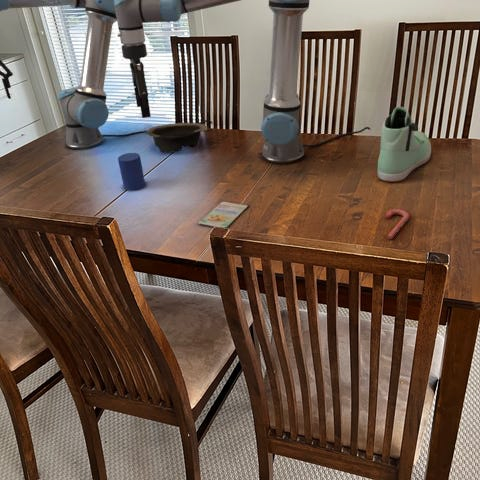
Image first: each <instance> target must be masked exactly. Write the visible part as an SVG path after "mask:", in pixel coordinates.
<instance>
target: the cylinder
mask: <svg viewBox="0 0 480 480" xmlns="http://www.w3.org/2000/svg"><path fill="white" fill-rule="evenodd" d="M117 161H118V162H117V163H118V166H119V171H120V175H121V180H122V186H123V189H124V190H125V191H138V190H141V189H143V188H144V187H146V181H145V174H144V169H143V164H142V159H141V154H139V152H138V153H137V152H128V153H127V152H126V153H123V154H120V155H119V156H118V157H117Z"/></svg>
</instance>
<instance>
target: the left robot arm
mask: <svg viewBox="0 0 480 480" xmlns="http://www.w3.org/2000/svg"><path fill="white" fill-rule="evenodd" d="M63 6H64V7H65V6H69V7H71V8H72V9H84V13H85V14H86V16H87V18H88V21H87V29H86V35H85V45H84V51H83V59H82V68H81V76H80V83H79V85H78V86H76V87H69V88H66V89H61V90H60V91H58V93H57V95H58V102H59V105H60V107H61V113H62V116H63V119H64V123H65V126H66V133H65V135H64V138H65V144H66V148H68V149H70V150H85V149H92V148H94V147H97V146H99V145H102V143H104V138H107V137H108V138H124V137H130V136H133V135H138V134H145V133H146V132H147V130H148V129H147V130H146V129H145V130H146V132H144V131H145V130H139V131H134V132H129V133H125V134H102V132H101V130H100V129H99V128H101V127H102V126H103V125H105V123H106V122H107V121H108V119H109V113H110V112H109V108H108V106H107V104H106V103H107V94H106V91H105V90H104V88H105V87H104V86H105V82H106V81H105V80H106V73H107V68H108V67H107V66H108V59H109V53H110V44H111V38H112V31H113V25H114V24H115V23H117V17H116V12H115V7H114V0H0V12H2V11H8V10H9V9H25V8H44V7H63ZM0 66H1V68H2V69H3V70H4V71H5V72H6V73H5V72H3V71H2V70H0V77H1V82H2V85H3V88H4V91H5V94H6V97H7V99H9V100H10V99H11V100H12V97H11V94H10V90H9V89H11V88H12V86H11V83H10V80H9V79H10V77H12V76H14V74H13V72H12V70H10V68H8V66H7V65H6V64H5V63H4V62H3V61H2V60H1V59H0ZM198 123H199V124H205V123H209V124H213V121H211V120H209V119H205V120H201V121H199V122H198ZM146 134H147V133H146Z"/></svg>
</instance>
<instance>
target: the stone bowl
mask: <svg viewBox="0 0 480 480" xmlns="http://www.w3.org/2000/svg"><path fill="white" fill-rule="evenodd" d="M207 130H208V127H207V124H204V123H202V124H199V122H178V123H176V122H175V123H168V124H161V125H156V126H152V127H150V128H149V129H147V132H146V129H145V130H143V131H144V132H146V134H147V135H149V136H150V137H152V138H153V142H154V145H155V146H156V147H157V148H158V150H159V152H161V153H165V154H168V153H169V154H170V153H178V152H180V151H182V150H183V148H190V149H194V148H196V147H197V146H198V145H199V143H200V138H201V132H205V131H207Z"/></svg>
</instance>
